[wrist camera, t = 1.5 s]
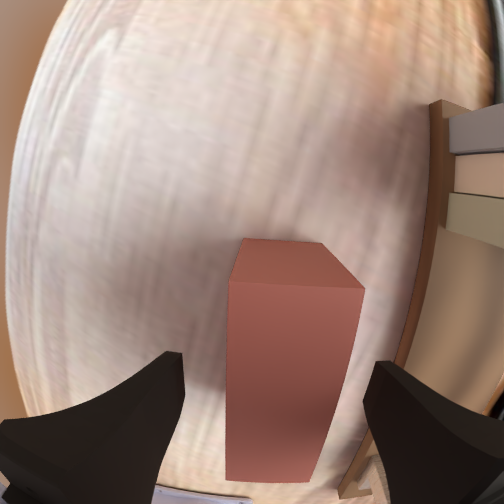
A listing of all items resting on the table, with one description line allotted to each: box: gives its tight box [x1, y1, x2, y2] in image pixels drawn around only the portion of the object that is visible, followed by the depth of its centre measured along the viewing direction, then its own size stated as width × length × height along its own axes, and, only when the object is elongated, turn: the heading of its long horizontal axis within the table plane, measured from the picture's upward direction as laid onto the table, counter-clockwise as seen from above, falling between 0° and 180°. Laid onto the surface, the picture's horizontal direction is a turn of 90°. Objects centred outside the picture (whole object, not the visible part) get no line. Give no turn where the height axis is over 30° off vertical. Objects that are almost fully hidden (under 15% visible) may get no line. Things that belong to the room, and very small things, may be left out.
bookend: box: [357, 455, 391, 504], centre depth 12 cm, size 9×4×5 cm, turn 87°
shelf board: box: [337, 99, 504, 500], centre depth 13 cm, size 10×28×1 cm, turn 177°
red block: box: [225, 238, 365, 483], centre depth 11 cm, size 4×9×6 cm, turn 177°
